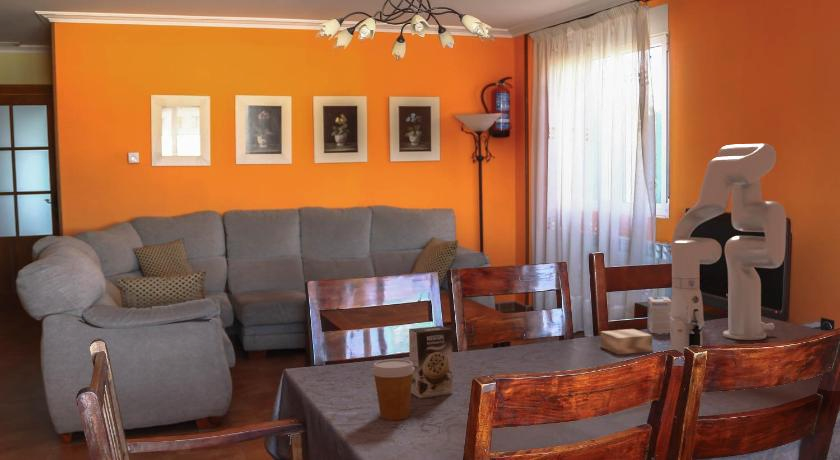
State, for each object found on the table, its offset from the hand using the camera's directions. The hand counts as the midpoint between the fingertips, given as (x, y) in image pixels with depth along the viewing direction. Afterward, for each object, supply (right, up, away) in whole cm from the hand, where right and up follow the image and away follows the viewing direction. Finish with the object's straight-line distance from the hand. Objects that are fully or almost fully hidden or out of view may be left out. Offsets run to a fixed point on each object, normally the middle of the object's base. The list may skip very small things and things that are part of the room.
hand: (686, 344), depth 242 cm
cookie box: (-73, -8, -34) cm, 81 cm away
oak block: (-15, -3, +10) cm, 18 cm away
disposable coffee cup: (-82, -9, -53) cm, 98 cm away
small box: (0, -3, 0) cm, 3 cm away
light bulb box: (+2, -1, +35) cm, 35 cm away
